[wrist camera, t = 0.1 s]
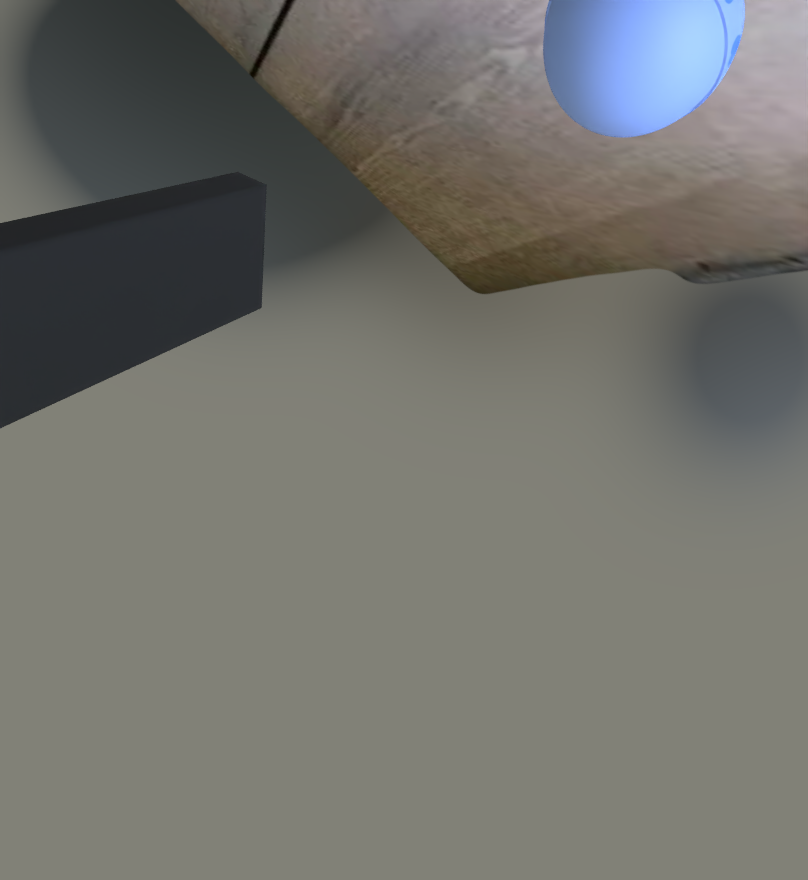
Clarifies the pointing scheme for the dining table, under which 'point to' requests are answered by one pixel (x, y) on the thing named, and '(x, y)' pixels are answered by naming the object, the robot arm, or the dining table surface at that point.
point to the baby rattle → (637, 59)
